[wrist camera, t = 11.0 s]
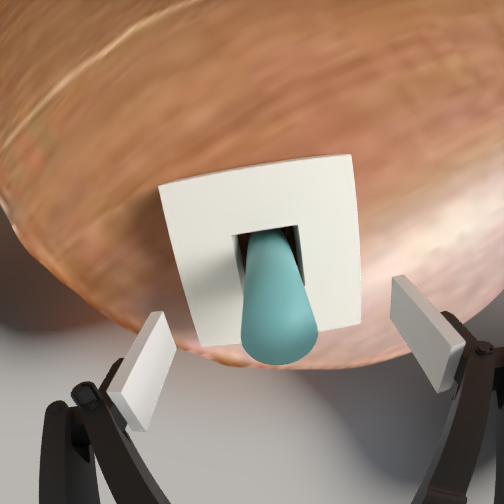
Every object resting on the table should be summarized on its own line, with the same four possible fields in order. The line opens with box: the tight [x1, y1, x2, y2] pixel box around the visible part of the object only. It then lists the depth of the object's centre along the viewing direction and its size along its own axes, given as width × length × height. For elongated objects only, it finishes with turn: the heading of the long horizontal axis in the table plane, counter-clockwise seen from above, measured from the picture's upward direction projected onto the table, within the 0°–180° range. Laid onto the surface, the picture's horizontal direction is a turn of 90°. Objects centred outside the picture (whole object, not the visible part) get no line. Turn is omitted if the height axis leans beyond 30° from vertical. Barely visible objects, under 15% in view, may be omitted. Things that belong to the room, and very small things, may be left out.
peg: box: [241, 228, 318, 365], centre depth 22 cm, size 4×4×16 cm
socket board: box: [158, 154, 361, 347], centre depth 28 cm, size 16×16×5 cm
